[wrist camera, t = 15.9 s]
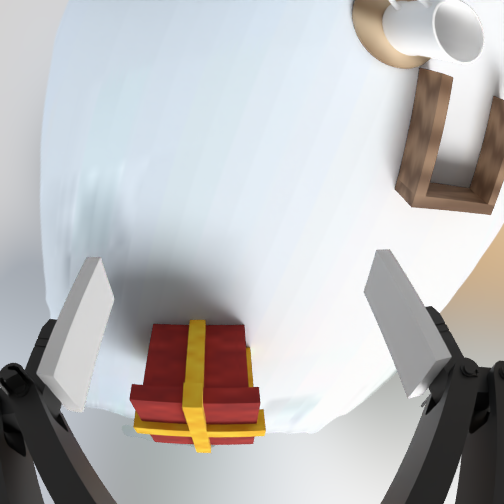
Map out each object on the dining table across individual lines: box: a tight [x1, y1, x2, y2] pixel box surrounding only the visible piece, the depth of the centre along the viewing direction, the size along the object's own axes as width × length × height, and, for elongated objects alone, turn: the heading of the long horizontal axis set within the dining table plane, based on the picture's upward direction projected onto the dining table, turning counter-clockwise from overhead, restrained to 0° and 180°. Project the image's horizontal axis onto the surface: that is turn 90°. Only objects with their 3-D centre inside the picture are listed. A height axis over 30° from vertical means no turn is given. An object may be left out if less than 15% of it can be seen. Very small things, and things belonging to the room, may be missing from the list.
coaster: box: [352, 0, 431, 69], centre depth 31 cm, size 14×14×1 cm
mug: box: [382, 0, 484, 64], centre depth 26 cm, size 12×9×12 cm
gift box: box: [130, 320, 266, 453], centre depth 61 cm, size 25×25×20 cm
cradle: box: [395, 68, 504, 215], centre depth 40 cm, size 20×19×6 cm
